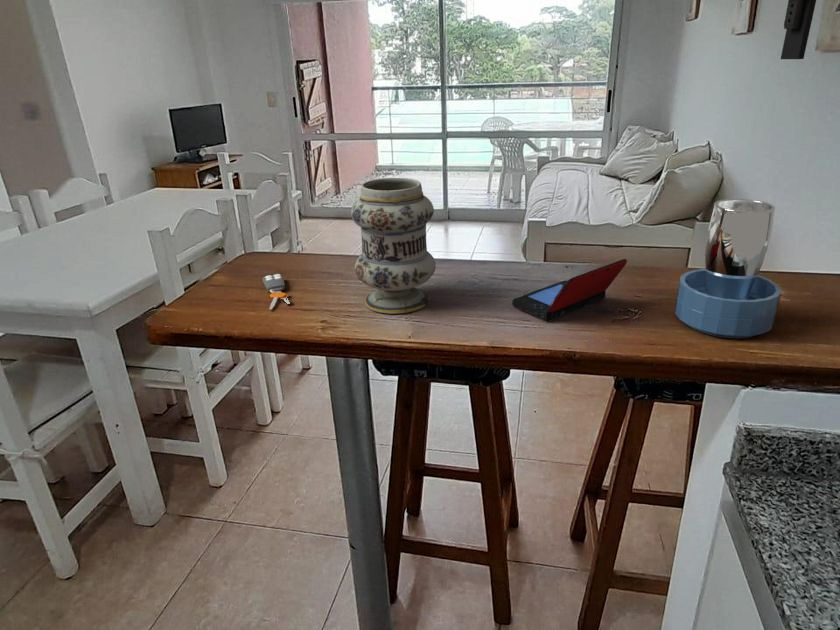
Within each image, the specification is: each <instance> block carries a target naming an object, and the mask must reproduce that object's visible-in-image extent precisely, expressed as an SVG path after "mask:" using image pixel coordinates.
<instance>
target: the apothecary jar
mask: <svg viewBox="0 0 840 630" xmlns="http://www.w3.org/2000/svg"><path fill="white" fill-rule="evenodd" d="M353 203H354V204H352V206H351V209H350V216H351V219H352V221H353V222H354V223H355V225H357V226H358V227H360V235H361V253H360V254H359V255H358V257H357V258H356V260H355V263H354V273H355V275H356V278H358V279H359V281H361V282H362V283H363V284H365V285H366V286H368V287H370V288H373V289H375V290H373V291H372V292H371V293H369V294H368V295H367V296H366V298H365V299H364V303H365V304H364V305H365V306H366V307H367V309H368V310H370V311H373V312H375V313H379V314H385V315H386V314H387V315H401V314H410V313H413V312H416V311H419V310H422V309H423V308H425V307H426V303H428V302H430V295H429V294H428V293H427V292H426V291H424V290H423V289H419V288H417V287H419V286H421V285H423V284H425V283H426V282H427V281H429V280H430V279H431V278H432V276H433V275H434V274H435V271H436V267H437V264H436V260H435V258H434V256H433V255H432V254H431V253H430V252H429V251H428V246H427V224H428V223H429V222H430V221H431V220H432V218H433V216H434V212H435V208H434V205H433V202H432V201H431V200H430V199H429V197H427V196H426V195H424V191H423V187H422V182H420V180H418V179H414V178H409V177H381V178H376V179H371V180H370V179H369V180H367V181H364V182H363V183H362V184H361V186H360V195H359V198H358V199H357V200H356V201H355V202H353Z"/></svg>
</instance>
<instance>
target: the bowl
mask: <svg viewBox="0 0 840 630" xmlns="http://www.w3.org/2000/svg"><path fill="white" fill-rule="evenodd" d="M705 284H706V268H700V269H699V268H698V269H692V270H690V271H687V272H684V273H683V274H682V275H681V276H680V277H679V283H678V290H677V296H676V302H675V311H674V314H675V316H676V317H677V318H678V319H679V320H680V321H681V322H683V323H684V324H686V325H687V326H689V328H691V329H694V330H695V331H698V332H700V333H703V334H706V335H710V336H714V337H719V338H726V339H745V338H750V337H751V338H752V337H754V336H759V335H763V334H765V333H768V332H770V331H771V330H772V328H773V327H774V325H775V321H776V316H777V312H778V308H779V304H780V299H781V295H782V289H781V286H780V285H779V284H777V283H776V282H775V281H773V280H771V279H769V278H767V277H765V276H762V275H759V274H758V275H757V277H756V280H755V282H754V284H753V287H752V290H751V293H750V298H749V300H735V299H726V298H720V297H715V296H711V295H707V294H704V291H705Z"/></svg>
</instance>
